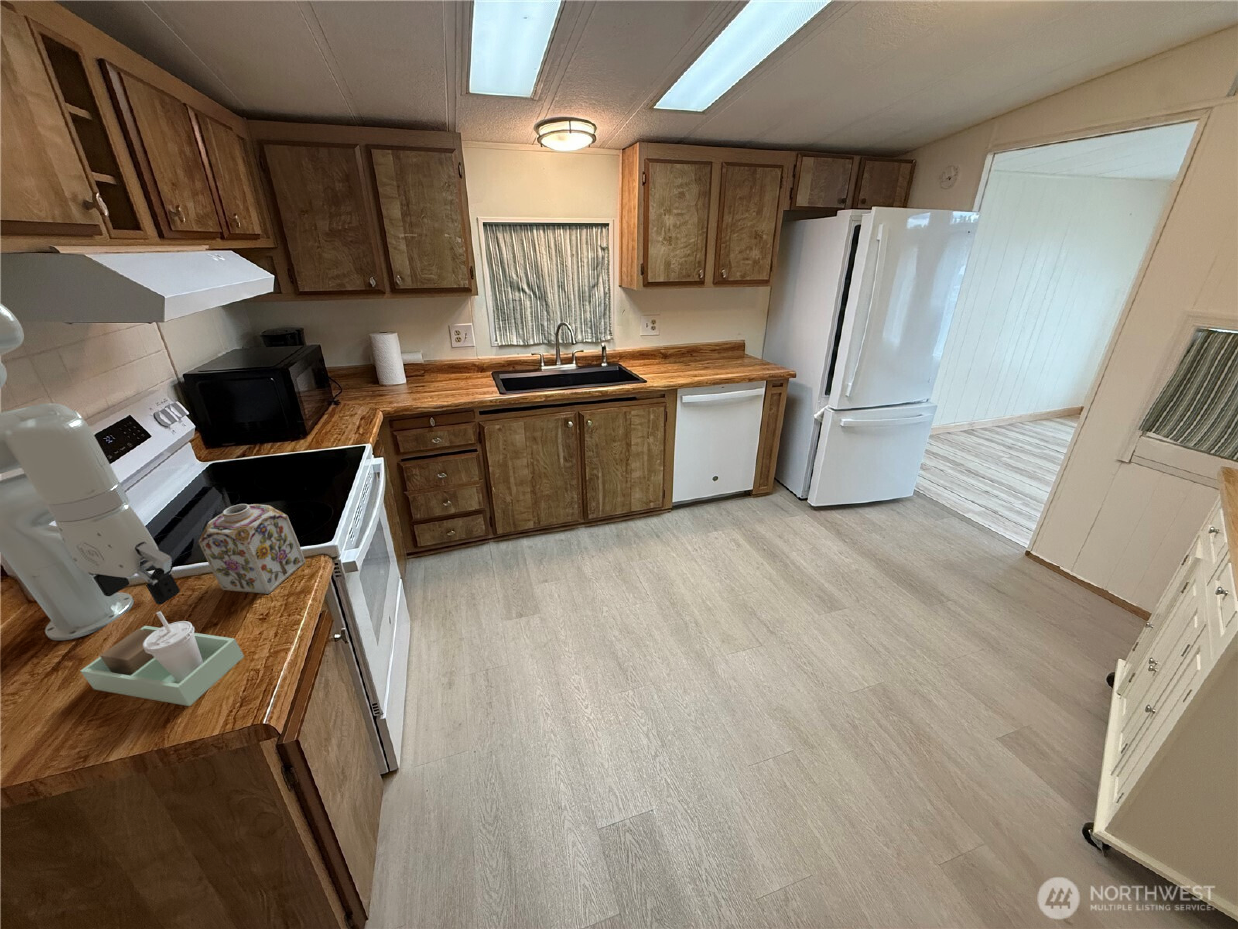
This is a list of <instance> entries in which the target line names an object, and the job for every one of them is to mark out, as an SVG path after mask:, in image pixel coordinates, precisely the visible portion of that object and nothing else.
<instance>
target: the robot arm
mask: <svg viewBox="0 0 1238 929" xmlns="http://www.w3.org/2000/svg"><path fill="white" fill-rule="evenodd" d="M24 338H25V334H24V329H23V327H22V324H21V323H20V320H18V318H17V317H16V315H15V314H14V313H13V312H12V311H11V310H10V309H9V308H7V307H6V305H4V304H2V303H1V302H0V356H3V355H5V354H7V353H10V352H12V351H14V350H17V348H19V347H20V346H21V345H22V344H23V342H24ZM7 378H8V371H7V369H6V367H5V365H4V363H3V362H2V361H1V360H0V389H2V387H3V386H4V385H5V384H6V381H7ZM18 469H22V471H23V473H21V474H16V475H14V476H11V477H7V478H5V479H0V554H1V556H2V557H3V558H4V559H5V560H6V562H7V563H8V565H9V566H10V567H11V569H12V570H13V571H14V573H15V574H16V575H17V577H18V578H19V579H20V580H21V582H22V583H23V585H24V586H25V587H26V589H27V591H29V593H30V594H31V595H32V597H33V598H34V599H35V601H36V603H37V604H38V605H39V606H40V607H41V609H42V610H43V611H44V613H45V614H46V616H47V617H48V618H49V620H50V621H49V623H48V624H47V625H46V627H45V629H44V632H45V635H46V636H47V637H48V639H50V640H52V641H68V640H73V639H77V638H82V637H85V636H87V635H90V634H92V633H95V632H98V631H100V630H101V629H103V628H105V627H106V626H108V625H109V624H111V623H112V622H113V621H116V620H117V619H119V618H120V617H121V616H123V615H124V614H126V613H127V612H129V611H130V610H131V608H132V607H133V605H134V602H135V601H134V599H133V596H132V595H131V594H129V593H128V592H120V591H121V590H123V589H125V588H126V587H128V586H129V585H130V581H129V579H128V578H132V577H134V576H135V574H136V575H138V576H139V577H141V579H143V580H144V581H145V582H147V583H146V584H145V587H146V589H147V590H148V592H149V593H150V596H151V597H152V599H153V601H154V602H155V604H157V605H159V606H160V605H163V604H165V603H166V602H168V601H169V600H170V599H171V600H172V598H173V597H175V596H176V595H178V594H180V592H181V591H180V590H181V589H180V588H179V586H178V584H177V582H176V581H175V578H174V576H173V575H172V574H173V569H174V567H173V565H172V564H173V563H172V560H173V559H172V556H170V555H168V554H167V553H165V552H163V551H161V550H160V549H159V547H158V544H157V543H156V541H155V540H154V538H153V536H152V535H151V533H150V532H149V530H148V529H147V527H146V526H145V524H144V522H143V521H142V520H141V518H140V517H139V516H138V514H137V513H136V511H134V509H133V508H132V507H131V505H129V503H130V499H129V497H128V495H127V494H126V490H124V488H123V486H122V484H121V482H120V480H119V479H118V477H117V475H116V473H115V471H114V470H113V467H112V466H111V464H110V461H109V460H108V458H107V457H106V454H105V453H104V451H103V449H102V447H101V446H100V444H99V441H98V440H97V438H96V436H95V435H94V433H93V431H92V429H91V427H90V426H89V425H88V423H87V422H86V420H85V419H84V417H83V416H82V415H81V414H80V413H79V412H78V411H77V410H75V409H71V408H69V407H68V406H66V405H63V404H61V403H55V402H54V403H53V402H52V403H51V402H50V403H49V402H47V403H41V404H36V405H30V406H27V407H26V406H25V407H22V408H18V409H13V410H9V411H7V410H6V411H2V412H0V475H1V474H5V473H8V472H11V471H15V470H18ZM54 522H55V525H52V524H51V523H54ZM144 561H146V562H145V563H143V564H141V563H142V562H144ZM151 566H153V567H155V569H154V571H153V572H152V574H151V573H150V572H149V571H147V569H149V568H150V567H151Z"/></svg>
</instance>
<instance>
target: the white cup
mask: <svg viewBox="0 0 1238 929" xmlns="http://www.w3.org/2000/svg"><path fill="white" fill-rule="evenodd" d="M156 615H157V618H158V619H159V620H160V622H161V623H162V625H163V626H161V627H158V628H159V629H158V630H156V631H154V632H153V633H152V634H150V635H149V636H148V637H147V638H146V639H145V641H144V642H143V648H144V649H145V652H146V653H148V654H152V655H153V656H154V657H155V659H157V660H158V662H159V663H160V664H161V665H162V666H163V667H164V668H165V669H166V670H167V671H168V672H169V673H170V674H171V675H172V676H173V677H174V678H175V679H176V680H177V681H178V682H179V683H180V682H181V681H182V680H184V679H185V678H186V677H187V676H188V675H189V674H191V673H192V672H193V671H194V670H195V669H197V668H198V667H199V666H200V665H201V664H202V663H203V660H202V657H201V654H200V651H199V648H198V645H197V642H196V639H195V636H194V633H195V626H194V625H193V624H192V623H191V622H190V621H186V620H181V621H175V622H172V623H169V622H168V621H167V620H166V618H165V616H164V615H163V613H162V611H161V610H160V611H157V612H156Z"/></svg>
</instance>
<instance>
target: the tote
mask: <svg viewBox="0 0 1238 929" xmlns="http://www.w3.org/2000/svg"><path fill="white" fill-rule="evenodd" d="M159 628H160V627H155V626H149V625H144V626H142V627H141V628H140V629H141V630H148V631H156V630H158V629H159ZM194 636H195V639H196V642H197V645H198V648H199V651H200V654H201V657H202V660H203V663H202V664H201V665H200V666H199V667H198V668H197V669H195V670H194V671H193V672H192V673H191V674H189V675H188V676H187V677H186V678H185V679H184V680H182V681H181V682H180V683H179V682H178V681H177V680H176V679H175V678H174V677H173V676H172V675H171V674H170V673H169V672H168V671H167V670H166V669H165V668H164V667H163V666H162V665H161V664H160V663H159V662H158V660H157V659H155V657H154V658H153V659H152V660H150V661H149V662H148V663H146V664H145V665H144V666H142V667H141V668H140V669H138V670H137V671H136V672H135V673H133V674H132V675H131V676H129V675H123V674H117V673H112V672H111V671H110V670H109V668H108V667H107V665H106V664H105V662H104V661H103V660H102V658H101V657H100V656H99V657H98V658H96V659H95V660H93V661H92V662H91V663H89V664H87V665H86V666H85V667H83V668H82V669H81V670H80V673H81V674H82V675H83V677H84V678H85V679H86V681H87V682H88V684H89V685H90V687H91V688H92V689H93V690H97V691H101V692H107V693H112V694H113V693H114V694H118V695H125V696H130V697H137V698H142V699H148V700H152V701H159V702H162V703H170V704H175V705H180V706H185V707H190V706H191V705H193V704H194V703H195V702H196V701H197V700H198V699H199V698H201V697H202V696H203V695H204V694H205V693H206V692H207V691H208V690H209V689H210V688H212V687H213V686H214V685H215V684H216V683H217V682H218V681H219V680H221V679H222V677H223V676H225V675H226V674H227V673H228V672H229V671H230V670H231V669H233V667H235V666H236V665H237V664H238V663H240V661H242V659H243V658H244V657H245V655H244V653H243V651H242V649H241V647H240V645H239V644H238V642H237V640H236V638H233V637H226V636H220V635H219V636H218V635H212V634H205V633H199V632H194Z"/></svg>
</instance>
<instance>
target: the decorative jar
mask: <svg viewBox="0 0 1238 929" xmlns="http://www.w3.org/2000/svg"><path fill="white" fill-rule="evenodd" d="M298 540H299V539H298V538H297V535H296V533H295V530H294V528H293V526H292V524H291V521H290V519H289V516H288V515H287V514H285V513H284V512H282V511H281V510H279V509H276V508H274V507H273V506H271V505H267V504H259V503H253V504H252V503H251V504H247V503H239V504H236V505H231V506H228V507H227V508H225V509H224V510H223V511H222V513H220V514H218V515H217V516H215V517H214V518H213V519H211V520H210V521H208V523H207V524H206V526H205V528H204V530H202V533H201V535H200V538H199V539H198V544H199V546H200V548H201V551H202V553H203V555H204V557H205V559H206V560H207V563H208V565H209V567H210V569H211V571H212V574H213V576H214V578H215V579H216V581H217V583H218V585H219V586H220V589H222V590H223V591H232V592H239V593H248V594H249V593H250V594H262V595H264V594H265V595H270V594H271V593H273V591H274V590H276V588H277V587H279V586H280V585H281V584H282V583H283V582H284V581H285V580H287V579H288V578H289V577H290V576H291V575H292V574H293V573H295V572H296V571H297V569H299V568H300V567H301V566H303V565H304V564H305V563H306V560H305V557H304V553H303V550H302V548H301V546H300V543H299V541H298Z"/></svg>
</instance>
